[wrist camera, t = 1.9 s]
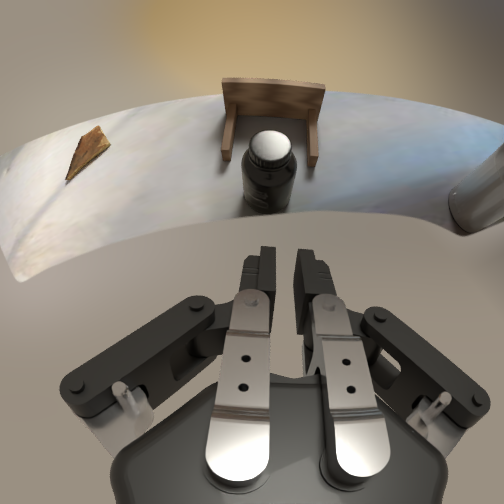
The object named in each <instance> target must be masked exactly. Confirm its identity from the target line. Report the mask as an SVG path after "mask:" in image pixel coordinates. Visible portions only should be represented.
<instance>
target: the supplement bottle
mask: <svg viewBox="0 0 504 504" xmlns="http://www.w3.org/2000/svg"><path fill="white" fill-rule="evenodd" d="M291 150H292V146H291V142H290V140H289V139H288V137H286V135H284V134H283V133H281V132H279V131H276V130H263V131H261V132H258V133H256V134H255V135H254V136H253V137H252V138H251V140H250V144H249V148H248V149H247V151H246V152H245V153H244V155H243V158H242V162H241V168H242V179H243V190H244V197H245V200H246V202H247V204H248V205H249V206H250V207H251V208H252V209H253V210H255V211H257V212H259V213H263V214H273V213H276V212H279V211H281V210H282V209H283V208H284V207H285V206H286V205H287V204H288V202H289V200H290V196H291V192H292V188H293V184H294V179H295V175H296V170H297V161H296V158H295V156H294V154H293V153H292V151H291Z"/></svg>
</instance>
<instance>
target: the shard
mask: <svg viewBox="0 0 504 504" xmlns="http://www.w3.org/2000/svg"><path fill="white" fill-rule="evenodd" d="M110 145H111V144H110V142H109V141H108V140H107V138H106V136H105V135H104V133H103V131H102V130H101V127H100V126H96V127H95V128H94V129H93V130H91V131H90V132H89V133H87V134H86V135H84V136H82V137H81V139H80V141H79V143H78V146H77V148H76V150H75V153H74V155H73V158H72V161H71V164H70V167H69V171H68V173H67V176H66V179H65V180H68V179H69V180H70V179H71V178H72V177H73V176H75V175H76V174H77V173H78V171H79V170H80V169H81V168H83V167H84V166H85V165H86V164H87V163H88V162H89V161H90V160H92V159H93V158H94V157H95V156H97V155H98V154H99V153H100V152H102V151H103V150H105V149H106V148H107V147H108V146H110Z"/></svg>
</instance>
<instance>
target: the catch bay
mask: <svg viewBox="0 0 504 504" xmlns="http://www.w3.org/2000/svg"><path fill="white" fill-rule="evenodd" d="M222 88H223V96H224V104H225V111H226V115H227V118H226V124H225V129H224V135H223V141H222V147H221V152H222V157H223V161H231V155H232V148H233V141H234V134H235V128H236V121H237V115H249V116H268V117H282V118H294V119H304V120H306V128H307V166H311V167H315V165H316V162H317V159H318V137H317V121H318V117H319V113H320V109H321V105H322V101H323V97H324V93H325V85H324V84H317V83H309V82H299V81H290V80H278V79H261V78H223V79H222Z"/></svg>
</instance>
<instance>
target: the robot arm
mask: <svg viewBox="0 0 504 504" xmlns="http://www.w3.org/2000/svg"><path fill="white" fill-rule="evenodd" d="M449 206H450V210H451V213H452V215H453V217H454V219H455V221H456V222H457V223H458V225H459V226H460V227H461V228H462V229H464V230H465V231H467V232H470V233H475V232H477V231H479V230H481V229H482V228H484V227H486V226H488V225H490V224H491V223H493V222H495V221H497V220H498V219H500V218H502V217H503V216H504V143H503V144H502V145H501V146H500V147H499V148H498V149H497V150H496V151H495V152H494V153H493V154H492V155H490V156H489V157H488V158H487V159H486V160H485V161H484V162H483V163H482V164H481V165H479V166H478V167H477V168H476V169H475V170H474V171H473V172H472V173H470V174H469V175H468V176H467V177H466V178H465V179H464V180H462V181H461V182H460V183H459V184H458V185H457V186H456V187H454V188H453V189H452V190H451V192H450V195H449ZM293 288H294V301H295V313H296V328H297V334H299V335H303V336H304V340H303V345H302V360H303V377H301V378H296V379H293V378H288V377H284V376H280V375H276V374H272V373H270V333H271V327H272V319H273V311H274V303H275V295H276V248H275V247H267V246H261V252H260V256H253V255H250V256H248V257H247V258H246V259H245V260H244V265H243V271H242V276H241V282H240V288H239V292H238V293H237V294H236V295H235V297H234V300H232V301H230V302H228V303H224V304H218V305H215V304H214V302H213V301H212V300H211V299H209V298H208V297H205V296H191V297H188V298H186V299H184V300H183V301H181V302H180V303H178V304H177V305H175V306H173V307H172V308H170V309H169V310H167V311H166V312H164V313H162V314H161V315H159V316H158V317H156V318H155V319H153V320H151V321H150V322H148V323H147V324H145V325H144V326H142V327H141V328H139V329H137V330H136V331H134V332H133V333H131V334H130V335H128V336H127V337H125V338H123V339H122V340H120V341H119V342H117V343H116V344H114V345H113V346H111V347H109V348H108V349H106V350H105V351H103V352H102V353H100V354H99V355H97V356H96V357H94V358H92V359H91V360H89V361H87V362H86V363H84V364H83V365H81V366H80V367H78V368H76V369H75V370H73V371H72V372H70V373H69V374H67V375H66V376H65V377H64V378H63V380H62V381H61V384H60V394H61V397H62V398H63V399H64V401H65V402H66V403H67V404H68V406H69V407H70V408H71V410H72V412H73V413H74V414H75V415H76V416H77V418H78V419H79V420H80V421H81V422H82V423H83V424H84V425H85V426H86V427H87V428H88V429H89V430H91V432H92V433H93V434H94V435H95V436H96V437H97V439H98V440H99V441H100V443H101V444H102V445H103V446H104V447H105V449H106V450H107V451H108V452H109V453H110V455H111V456H112V457H113V458H114V460H113V463H112V466H111V470H110V481H111V486H112V489H113V492H114V495H115V500H116V504H442V498H443V494H444V491H445V488H446V484H447V480H448V467H447V463H446V460H445V458H446V457H447V456H448V455H449V454H450V452H451V451H452V450H453V448H454V447H455V446H456V444H457V443H458V441H459V440H460V439H461V437H462V436H463V435H464V433H465V432H466V431H468V430H469V429H470V428H471V427H472V426H473V425H475V424H476V423H477V422H478V421H479V420H480V419H481V418H482V417H483V416H484V415H485V414H486V413H487V412H488V411H489V409H490V398H489V396H488V394H487V392H486V391H485V390H484V389H483V388H482V387H480V386H479V385H478V384H477V383H476V382H475V381H473V380H472V379H471V378H470V377H469V376H468V375H467V374H465V373H464V372H463V371H462V370H461V369H460V368H458V367H457V366H456V365H455V364H454V363H452V362H451V361H450V360H449V359H448V358H447V357H445V356H444V355H443V354H442V353H440V352H439V351H438V350H437V349H436V348H434V347H433V346H432V345H431V344H429V343H428V342H427V341H426V340H425V339H423V338H422V337H421V336H420V335H418V334H417V333H416V332H415V331H414V330H412V329H411V328H410V327H408V326H407V325H406V324H405V323H403V322H402V321H401V320H400V319H398V318H397V317H396V316H395V315H393V314H392V313H391V312H390V311H388V310H386V309H384V308H382V307H370V308H368V309H366V311H365V312H364V314H362V313H358V312H354V311H351V310H349V309H347V308H346V306H345V303H344V302H343V300H342V299H340V298H339V297H337V294H336V291H335V287H334V284H333V280H332V277H331V274H330V269H329V266H328V265H327V264H326V263H325V262H324V261H323V260H316V259H315V255H314V252H313V250H308V249H298V252H297V258H296V265H295V272H294V282H293ZM382 349H384V350H385V351H386V352H387V353H388V354H390V355H391V356H392V357H393V358H394V359H395V360H396V361H398V363H399V364H400V366H401V372H400V371H399V370H398V369H397V368H396V367H394V366H393V365H392V364H391V363H390V362H389V361H388V360H387V359H386V358H385V357H383V356H382V355H381V354H380V353H381V351H382ZM222 354H223V357H222V363H221V369H220V374H219V381H218V382H216V383H213V384H211V385H210V386H208V387H206V388H205V389H204V390H202V391H201V392H200V393H198V394H197V395H196V396H195V397H193V398H192V399H191V400H189V401H188V402H187V403H186V404H184V405H183V406H182V407H180V408H179V409H178V410H176V411H175V412H174V413H172V414H171V415H170V416H168V417H167V418H166V419H164V420H163V421H161V422H160V423H158V424H157V425H156V426H154V427H153V428H152V429H150V430H149V431H147V432H146V433H145V431H146V430H147V429H148V427H149V426H150V425H151V424H152V422H153V419H154V412H153V410H154V409H155V408H156V407H158V406H159V405H160V404H161V403H163V402H164V401H165V400H166V399H168V398H169V397H170V396H171V395H173V394H174V393H175V392H176V391H178V390H179V389H180V388H181V387H182V386H184V385H185V384H186V383H187V382H189V381H190V380H191V379H192V378H194V377H195V376H196V375H197V374H198V373H199V372H201V371H202V370H203V369H204V368H206V367H207V366H208V365H209V364H210V363H211V362H213V361H214V360H215V359H216V357H217V355H222ZM374 392H375V393H377V395H379V396H380V397H381V398H382V399H383V400H384V401H385V402H386V403H387V404H388V405H389V406H390V407H391V408H392V409H393V410H394V411H395V412H394V411H393V410H392V409H391V408H390V407H389V406H388V405H386V404H385V403H384V402H383V401H382V400H381V399H380V398H379V397H378V396H376V395H375V394H374Z"/></svg>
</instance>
